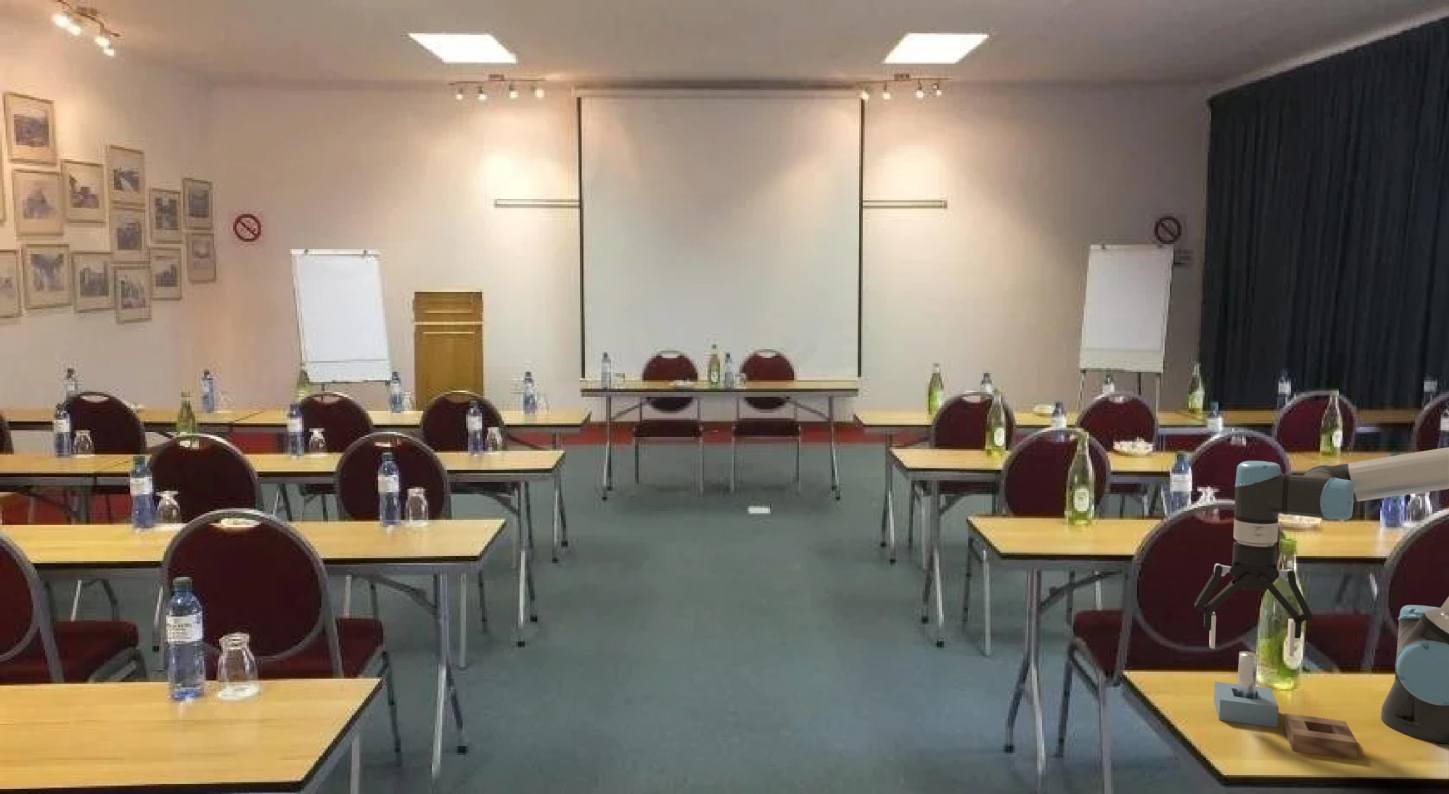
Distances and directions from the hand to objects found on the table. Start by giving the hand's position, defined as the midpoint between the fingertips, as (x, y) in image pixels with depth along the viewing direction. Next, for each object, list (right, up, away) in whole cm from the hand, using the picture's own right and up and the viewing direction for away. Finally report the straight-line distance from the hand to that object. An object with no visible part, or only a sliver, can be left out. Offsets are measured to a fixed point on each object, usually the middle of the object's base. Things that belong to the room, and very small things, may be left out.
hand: (1250, 650), depth 200 cm
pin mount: (+6, -14, -12) cm, 19 cm away
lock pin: (0, -13, +1) cm, 13 cm away
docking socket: (0, -13, +2) cm, 13 cm away
